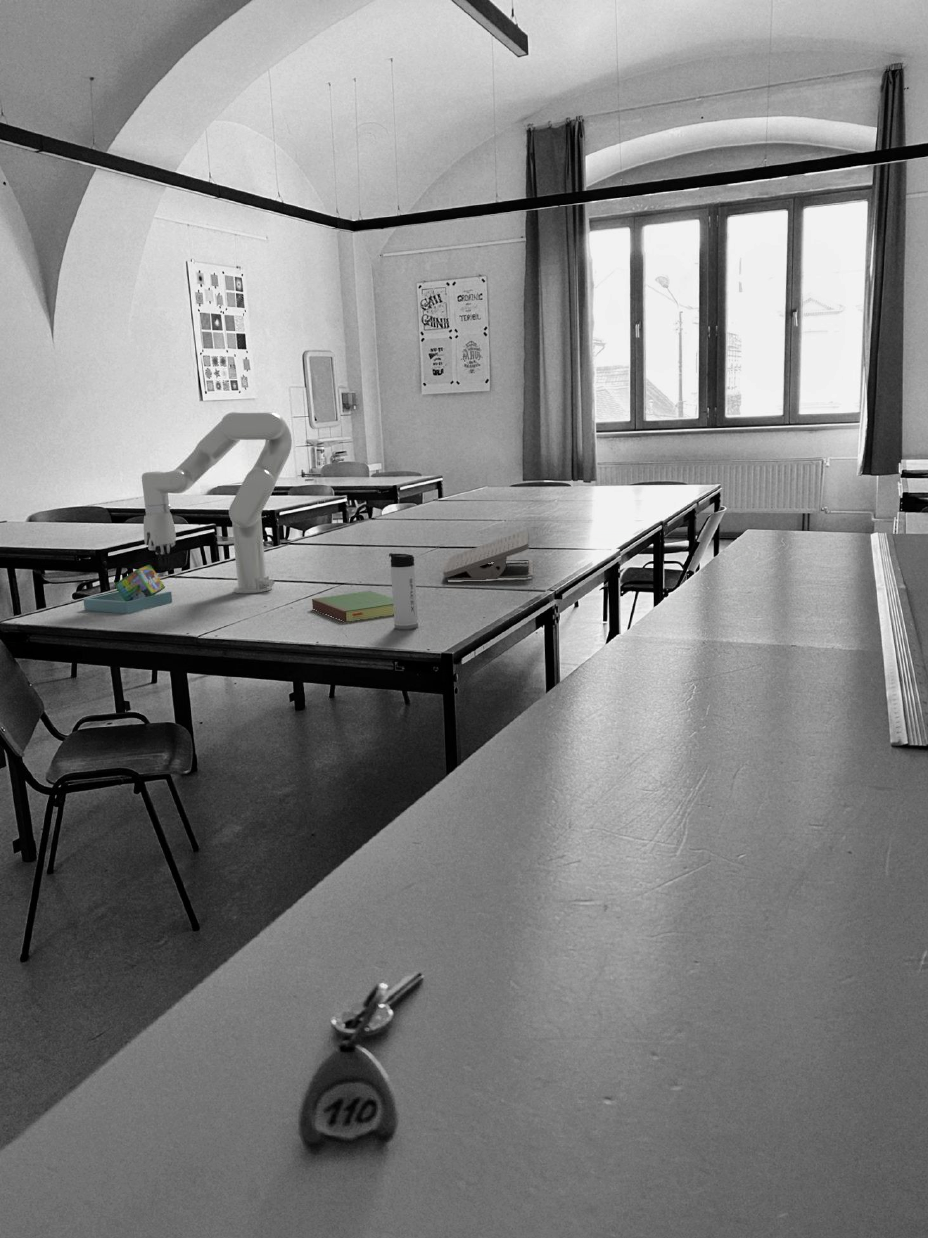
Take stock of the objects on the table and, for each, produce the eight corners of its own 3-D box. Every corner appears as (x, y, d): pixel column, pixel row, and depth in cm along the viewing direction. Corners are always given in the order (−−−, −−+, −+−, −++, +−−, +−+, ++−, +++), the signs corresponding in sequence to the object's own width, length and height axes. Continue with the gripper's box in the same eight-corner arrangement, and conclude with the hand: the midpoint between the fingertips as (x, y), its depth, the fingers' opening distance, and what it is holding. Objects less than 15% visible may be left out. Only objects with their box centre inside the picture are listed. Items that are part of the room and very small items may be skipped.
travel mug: (393, 625, 266) (388, 552, 262) (417, 624, 267) (413, 550, 262) (393, 630, 260) (388, 555, 256) (418, 629, 261) (414, 554, 256)
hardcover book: (313, 611, 294) (312, 598, 293) (370, 602, 303) (369, 590, 302) (346, 625, 273) (345, 611, 272) (407, 615, 282) (406, 602, 281)
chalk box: (150, 563, 319) (131, 570, 305) (166, 587, 320) (148, 595, 306) (127, 578, 321) (108, 585, 306) (143, 602, 322) (124, 610, 307)
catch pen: (172, 602, 317) (171, 591, 316) (128, 613, 301) (126, 602, 300) (129, 599, 326) (128, 588, 325) (84, 610, 311) (83, 599, 310)
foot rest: (451, 566, 365) (449, 532, 363) (532, 563, 363) (531, 529, 360) (442, 585, 327) (440, 547, 325) (533, 581, 325) (532, 543, 322)
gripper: (166, 507, 330) (172, 561, 333) (131, 512, 317) (138, 569, 321) (182, 507, 326) (189, 562, 330) (148, 512, 313) (155, 569, 317)
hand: (164, 565), depth 325 cm, fingers closed
